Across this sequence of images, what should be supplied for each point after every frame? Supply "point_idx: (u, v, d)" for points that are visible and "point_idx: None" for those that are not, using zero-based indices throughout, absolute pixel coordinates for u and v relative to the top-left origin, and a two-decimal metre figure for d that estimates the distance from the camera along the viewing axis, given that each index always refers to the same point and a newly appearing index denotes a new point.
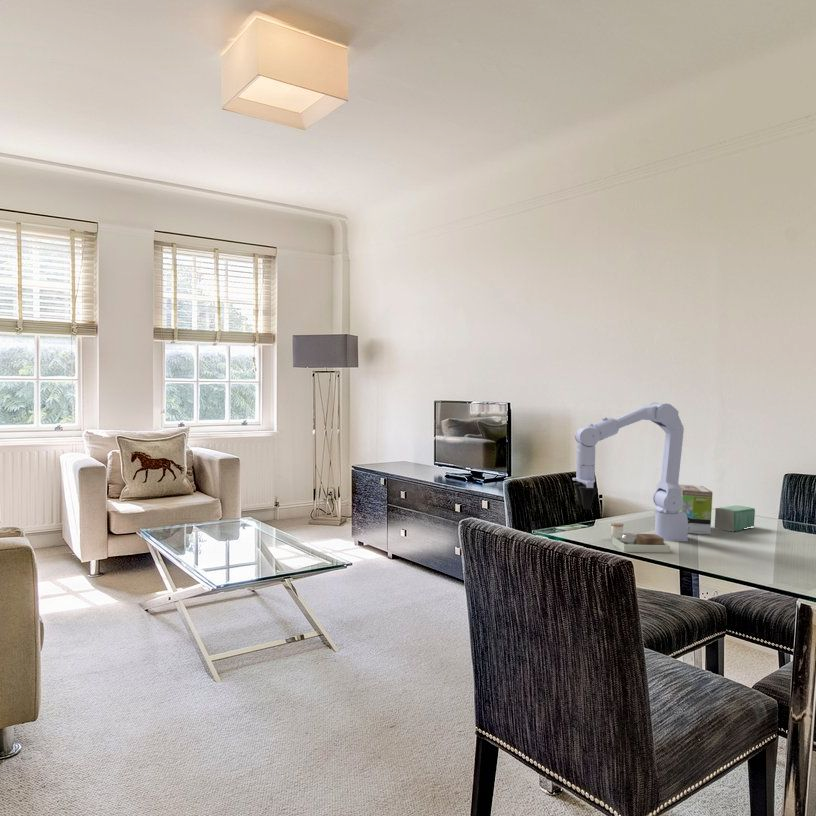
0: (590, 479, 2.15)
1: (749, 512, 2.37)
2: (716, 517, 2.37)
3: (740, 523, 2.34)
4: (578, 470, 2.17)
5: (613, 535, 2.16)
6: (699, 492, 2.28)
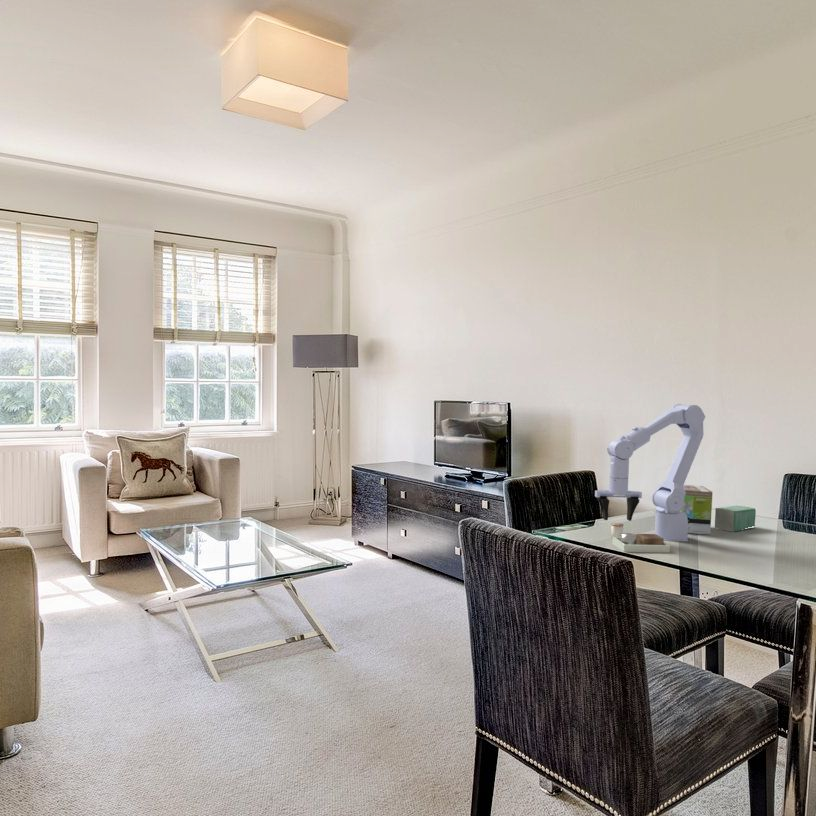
0: (611, 491, 2.15)
1: (749, 512, 2.37)
2: (716, 517, 2.37)
3: (740, 523, 2.34)
4: None
5: (613, 535, 2.16)
6: (699, 492, 2.28)
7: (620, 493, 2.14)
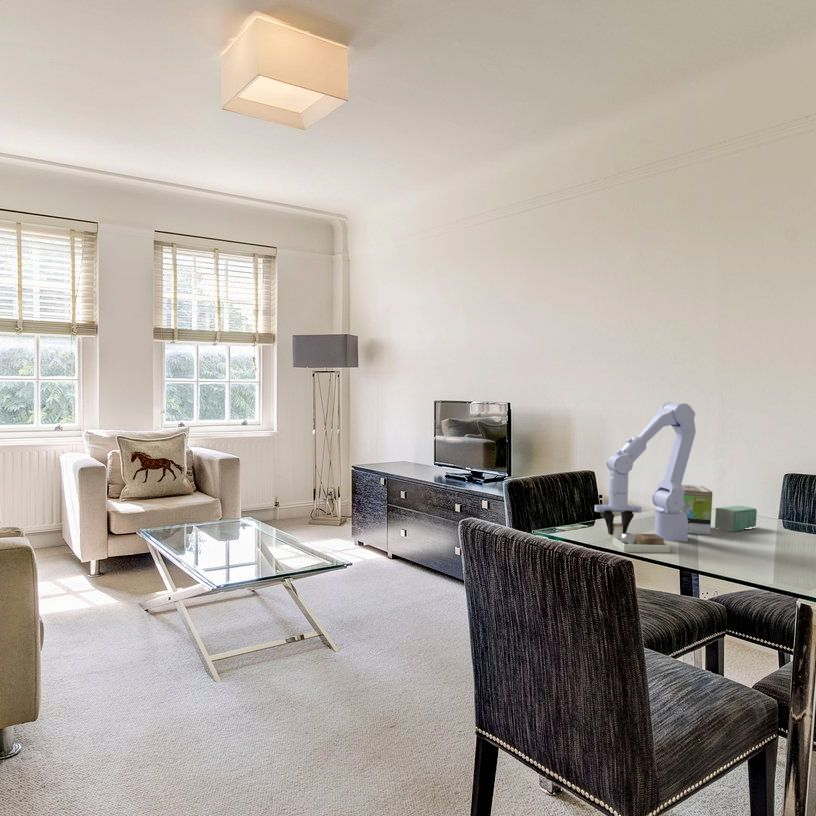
0: (610, 506, 2.16)
1: (750, 512, 2.37)
2: (716, 517, 2.38)
3: (741, 523, 2.34)
4: None
5: (613, 535, 2.16)
6: (699, 492, 2.28)
7: (620, 508, 2.14)
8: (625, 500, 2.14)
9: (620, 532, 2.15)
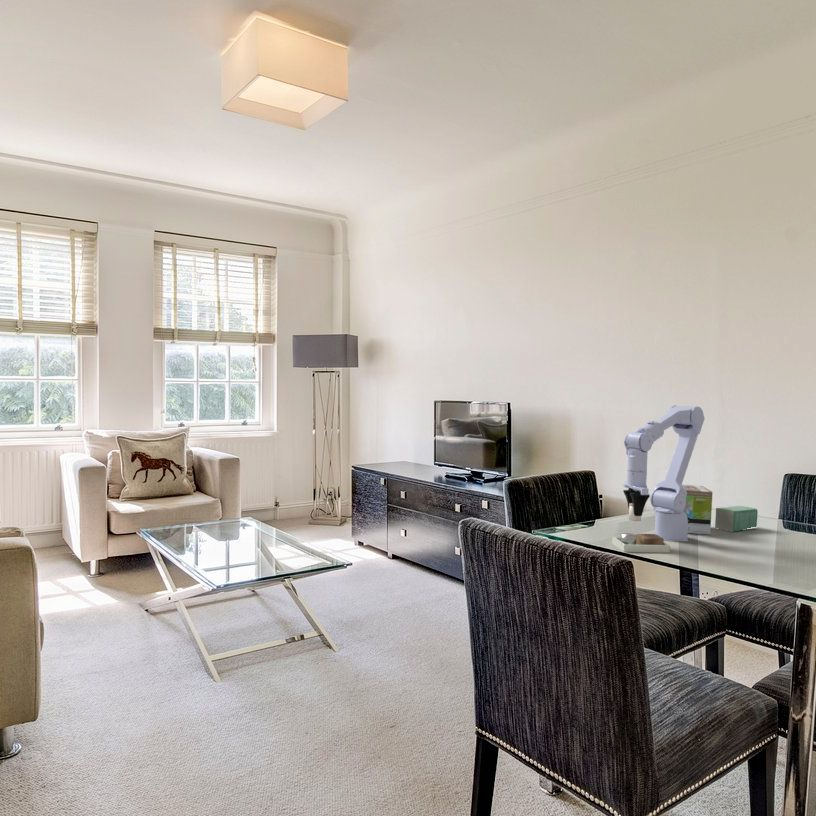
0: (643, 486, 2.07)
1: (751, 513, 2.36)
2: (716, 517, 2.38)
3: (741, 523, 2.34)
4: (630, 476, 2.09)
5: (639, 516, 2.09)
6: (699, 492, 2.28)
7: None
8: None
9: None
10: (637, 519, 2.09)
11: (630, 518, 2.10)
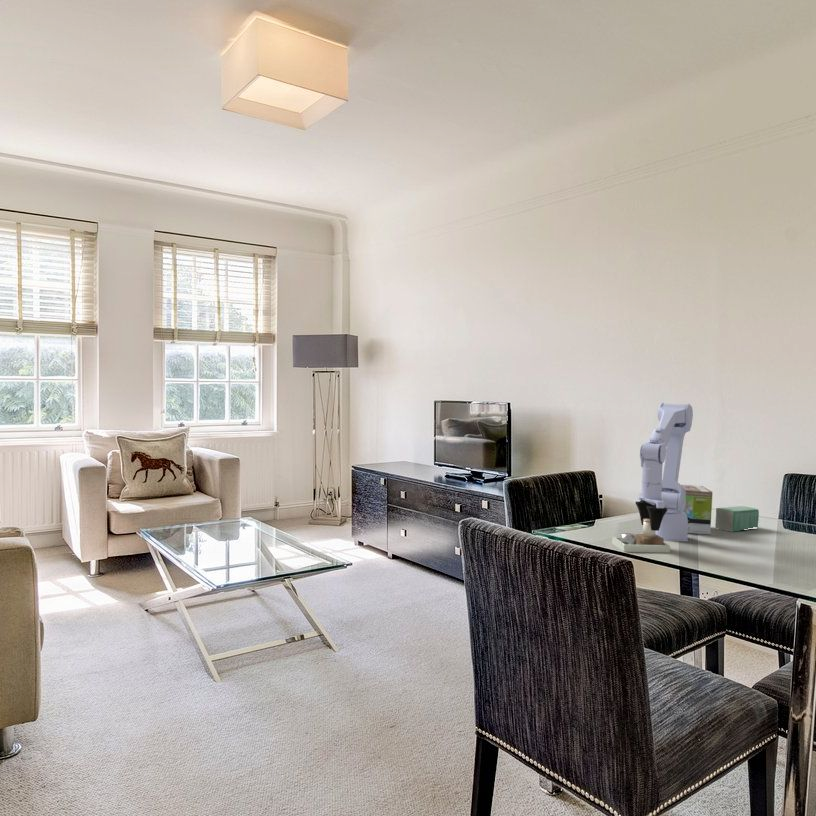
0: (658, 498, 2.02)
1: (751, 513, 2.36)
2: (717, 517, 2.38)
3: (741, 524, 2.33)
4: (644, 489, 2.03)
5: (654, 532, 2.04)
6: (699, 492, 2.28)
7: None
8: None
9: None
10: (651, 535, 2.03)
11: (644, 534, 2.05)
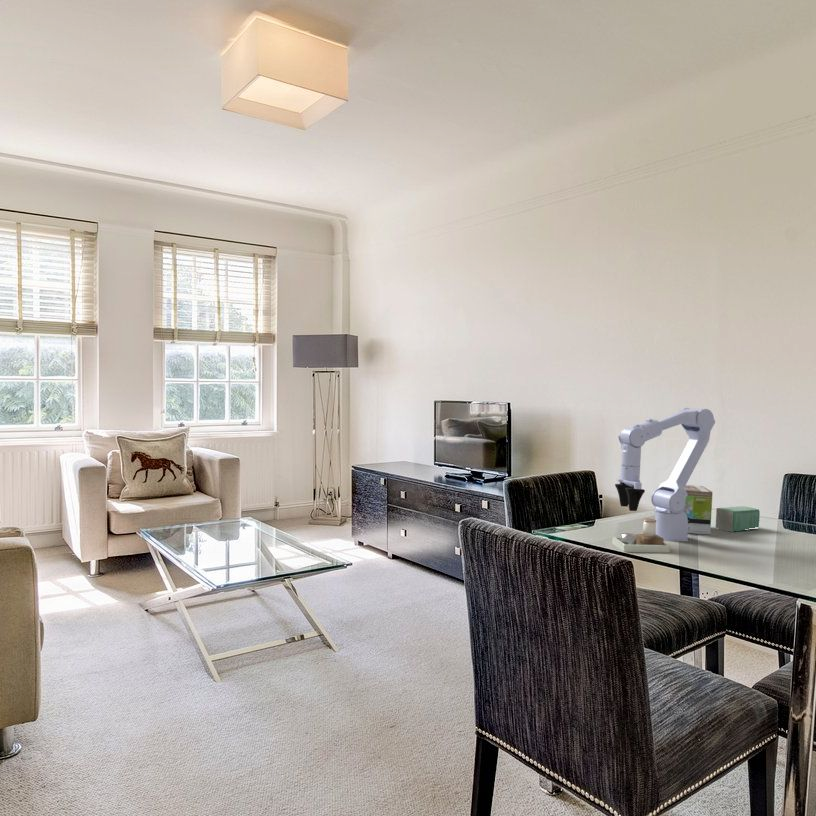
0: (636, 480, 2.12)
1: (752, 513, 2.36)
2: (717, 517, 2.38)
3: (741, 524, 2.33)
4: (623, 471, 2.13)
5: (654, 532, 2.04)
6: (699, 492, 2.28)
7: None
8: None
9: None
10: (651, 535, 2.03)
11: (644, 534, 2.05)
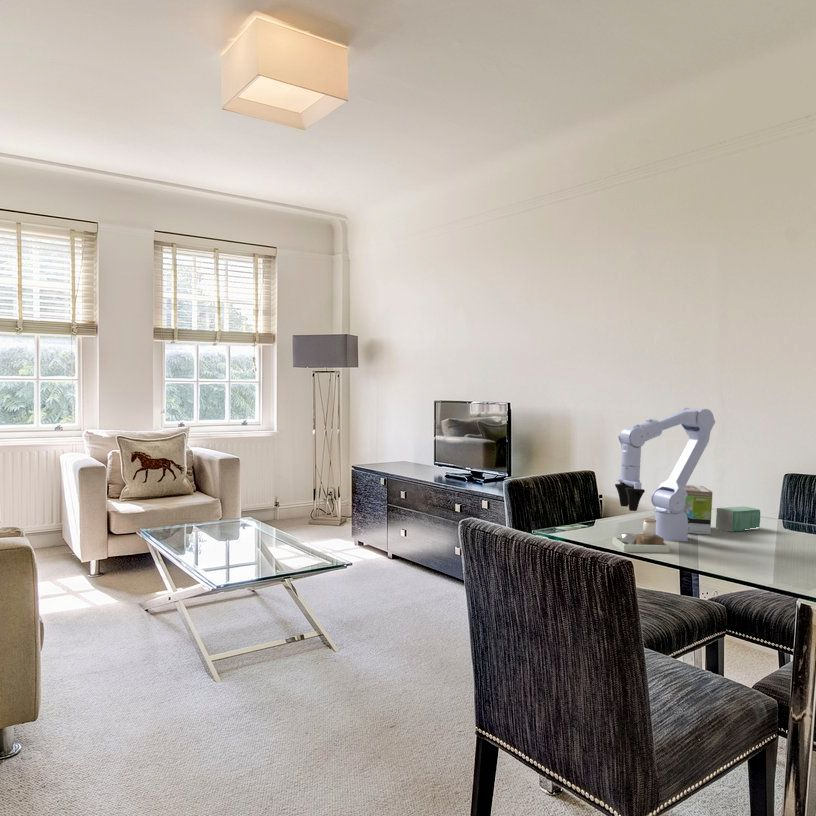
0: (636, 480, 2.12)
1: (753, 513, 2.35)
2: (717, 517, 2.38)
3: (741, 524, 2.33)
4: (623, 471, 2.13)
5: (654, 532, 2.04)
6: (699, 492, 2.28)
7: None
8: None
9: None
10: (651, 535, 2.03)
11: (644, 534, 2.05)
